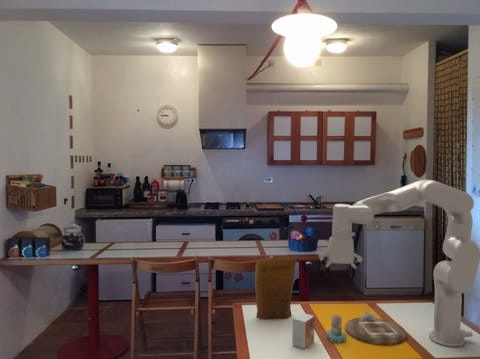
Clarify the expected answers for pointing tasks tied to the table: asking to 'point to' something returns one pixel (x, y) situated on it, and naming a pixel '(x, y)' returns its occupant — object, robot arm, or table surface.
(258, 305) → the pancake mix bag
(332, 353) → the table surface
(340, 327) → the gear
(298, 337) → the small box
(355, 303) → the table surface
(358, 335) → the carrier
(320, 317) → the table surface
